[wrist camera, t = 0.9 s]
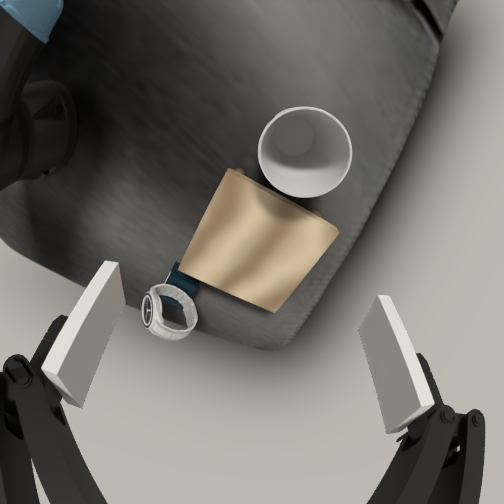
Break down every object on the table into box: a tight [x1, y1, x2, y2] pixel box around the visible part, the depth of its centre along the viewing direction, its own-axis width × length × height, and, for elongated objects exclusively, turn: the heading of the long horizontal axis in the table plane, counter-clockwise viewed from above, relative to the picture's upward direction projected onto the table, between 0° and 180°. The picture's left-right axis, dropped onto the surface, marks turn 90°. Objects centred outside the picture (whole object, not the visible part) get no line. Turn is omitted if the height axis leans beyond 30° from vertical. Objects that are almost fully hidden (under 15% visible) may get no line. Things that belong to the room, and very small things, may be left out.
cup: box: [258, 107, 352, 198], centre depth 27 cm, size 8×8×10 cm
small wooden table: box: [178, 167, 339, 313], centre depth 35 cm, size 14×14×6 cm
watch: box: [141, 262, 199, 341], centre depth 38 cm, size 6×8×11 cm
